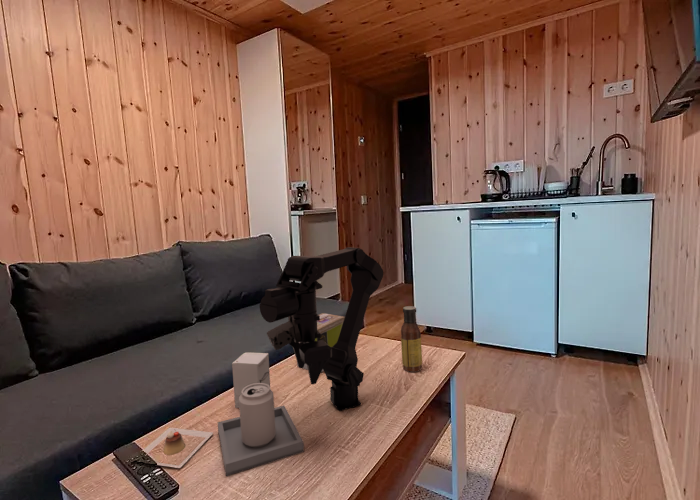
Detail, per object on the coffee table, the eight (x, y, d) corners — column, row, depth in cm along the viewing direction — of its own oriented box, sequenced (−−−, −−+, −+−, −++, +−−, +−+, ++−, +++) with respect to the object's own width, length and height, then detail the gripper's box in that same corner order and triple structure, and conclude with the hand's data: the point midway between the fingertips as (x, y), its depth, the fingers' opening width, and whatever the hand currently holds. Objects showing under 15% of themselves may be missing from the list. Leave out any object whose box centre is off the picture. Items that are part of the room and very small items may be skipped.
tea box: (325, 351, 134) (323, 311, 132) (347, 357, 128) (346, 316, 126) (295, 367, 122) (293, 323, 120) (319, 374, 116) (317, 329, 114)
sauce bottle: (425, 366, 119) (424, 306, 117) (417, 374, 114) (417, 311, 112) (406, 362, 123) (405, 303, 120) (398, 370, 118) (397, 308, 115)
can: (245, 430, 88) (242, 381, 86) (277, 427, 88) (275, 379, 87) (238, 451, 80) (234, 398, 79) (273, 448, 81) (270, 396, 79)
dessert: (214, 436, 87) (212, 417, 87) (180, 473, 76) (178, 451, 75) (169, 431, 90) (167, 412, 89) (130, 465, 78) (128, 444, 78)
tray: (284, 414, 95) (284, 405, 94) (303, 451, 80) (303, 441, 80) (218, 432, 88) (217, 422, 88) (226, 476, 74) (225, 464, 73)
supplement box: (260, 410, 97) (257, 364, 95) (234, 408, 98) (230, 362, 97) (271, 396, 104) (269, 352, 103) (247, 394, 106) (244, 351, 104)
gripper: (260, 306, 91) (264, 367, 93) (279, 328, 74) (283, 402, 76) (304, 299, 95) (307, 358, 97) (331, 319, 78) (334, 390, 80)
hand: (307, 375), depth 87 cm, fingers open, 9 cm apart
